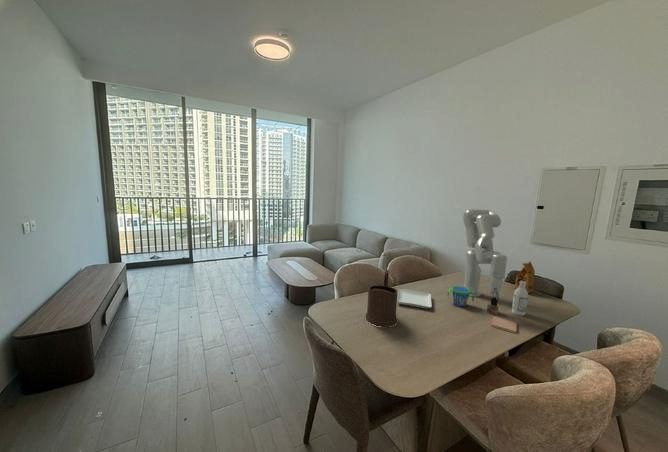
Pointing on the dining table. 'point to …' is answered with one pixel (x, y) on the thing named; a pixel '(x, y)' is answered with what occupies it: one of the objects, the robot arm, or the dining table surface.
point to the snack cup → (460, 295)
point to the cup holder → (382, 304)
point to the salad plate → (414, 298)
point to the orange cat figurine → (526, 277)
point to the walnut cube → (492, 308)
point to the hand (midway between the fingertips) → (494, 302)
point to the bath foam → (520, 299)
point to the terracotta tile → (504, 324)
